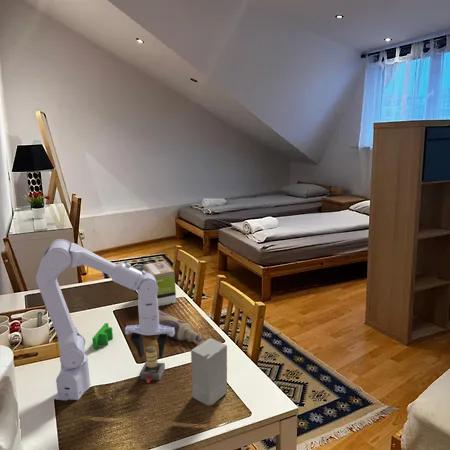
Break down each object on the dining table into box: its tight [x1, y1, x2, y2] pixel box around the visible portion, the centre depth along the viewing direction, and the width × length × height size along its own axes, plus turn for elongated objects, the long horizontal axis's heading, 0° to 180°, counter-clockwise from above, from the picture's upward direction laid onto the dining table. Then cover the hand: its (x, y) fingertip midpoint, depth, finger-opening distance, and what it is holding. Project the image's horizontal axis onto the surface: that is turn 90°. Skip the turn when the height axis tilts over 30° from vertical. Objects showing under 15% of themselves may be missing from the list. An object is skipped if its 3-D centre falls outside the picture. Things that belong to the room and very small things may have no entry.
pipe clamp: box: [91, 322, 114, 351], centre depth 148 cm, size 11×4×5 cm, turn 173°
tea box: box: [143, 260, 177, 307], centre depth 182 cm, size 15×10×15 cm, turn 25°
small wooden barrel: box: [144, 345, 158, 368], centre depth 126 cm, size 3×3×5 cm
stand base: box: [139, 362, 166, 384], centre depth 127 cm, size 10×10×3 cm
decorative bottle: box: [158, 309, 203, 343], centre depth 151 cm, size 26×8×7 cm, turn 47°
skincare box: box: [190, 337, 228, 407], centre depth 115 cm, size 8×7×16 cm
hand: (151, 355), depth 126 cm, fingers open, 5 cm apart
